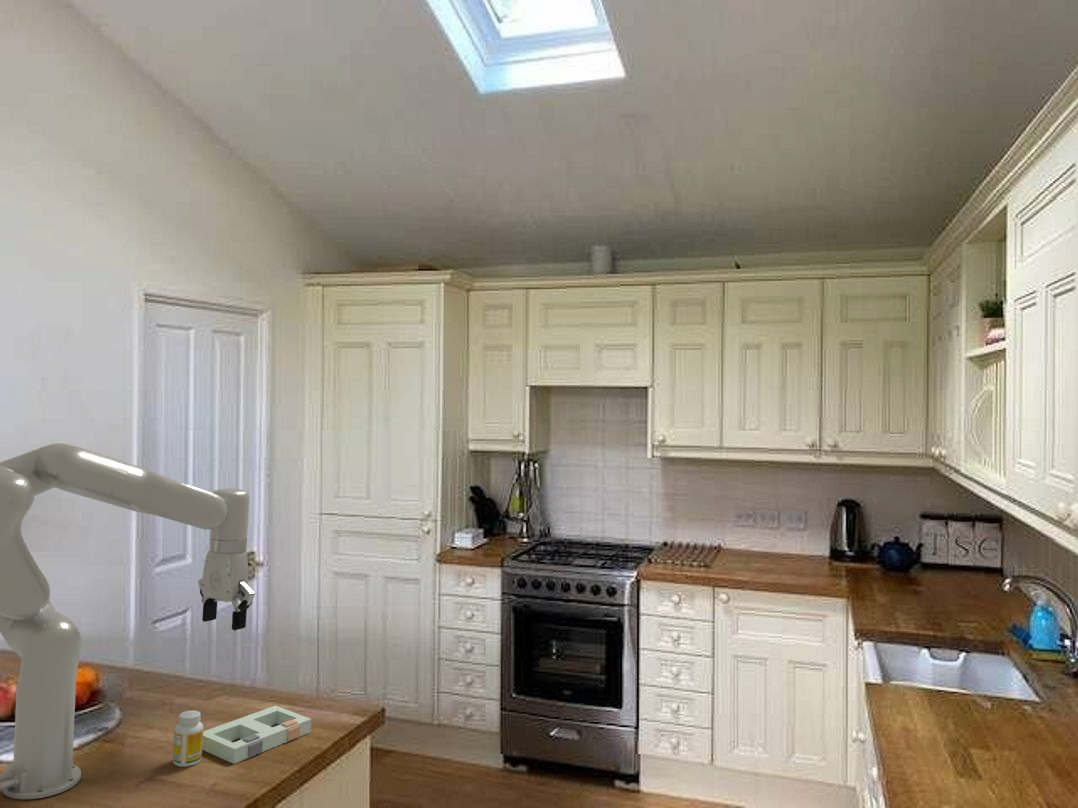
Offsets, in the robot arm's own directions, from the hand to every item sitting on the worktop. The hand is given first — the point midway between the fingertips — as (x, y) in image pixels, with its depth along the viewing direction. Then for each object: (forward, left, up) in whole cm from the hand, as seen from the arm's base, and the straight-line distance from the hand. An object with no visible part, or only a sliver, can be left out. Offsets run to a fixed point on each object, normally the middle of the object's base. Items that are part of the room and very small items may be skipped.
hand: (223, 624), depth 177 cm
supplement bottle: (-12, -6, -24) cm, 28 cm away
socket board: (+3, -8, -24) cm, 26 cm away
